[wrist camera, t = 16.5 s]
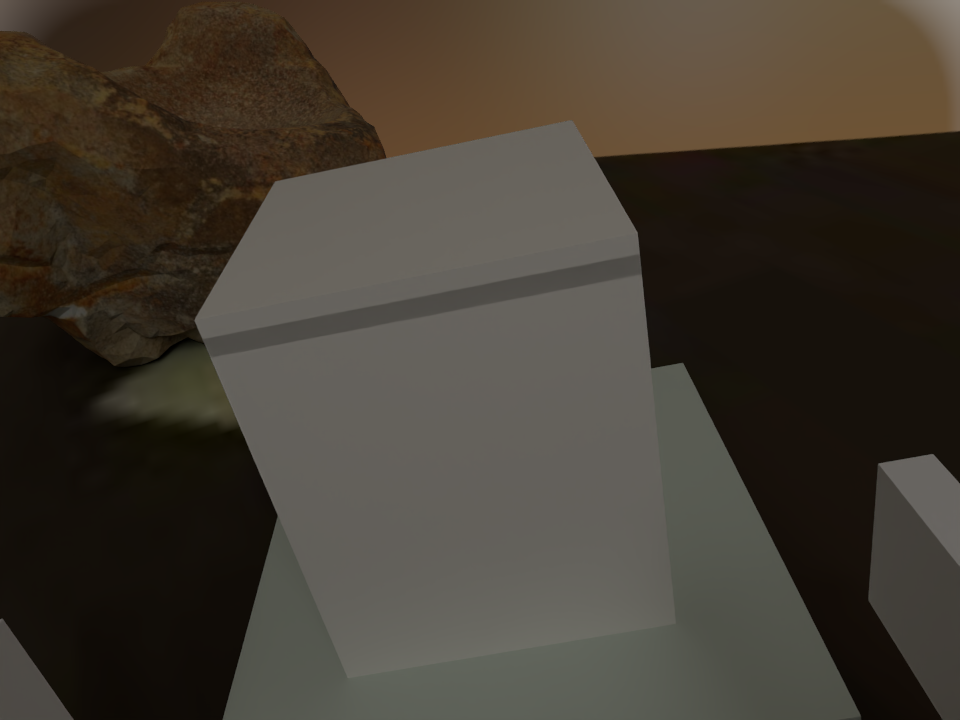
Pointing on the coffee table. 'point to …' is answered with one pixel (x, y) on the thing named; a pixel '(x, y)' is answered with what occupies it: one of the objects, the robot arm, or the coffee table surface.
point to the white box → (452, 398)
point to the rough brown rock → (155, 170)
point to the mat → (593, 661)
